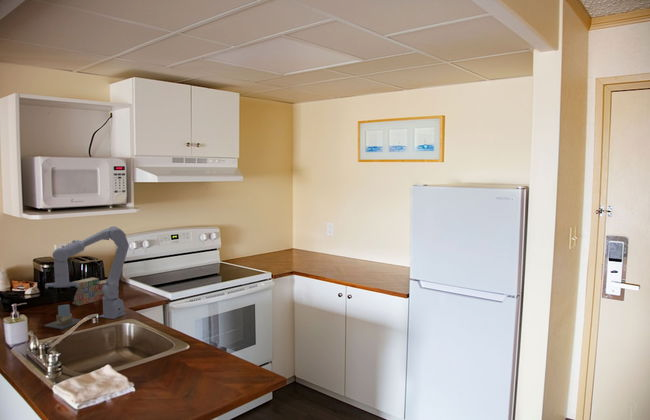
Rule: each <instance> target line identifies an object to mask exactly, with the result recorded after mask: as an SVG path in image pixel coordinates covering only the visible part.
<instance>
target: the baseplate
mask: <svg viewBox="0 0 650 420" xmlns="http://www.w3.org/2000/svg"><path fill="white" fill-rule="evenodd" d="M80 320H82V319H79V318H74V317H72V322H70V323H67V324H65V325H62V324H57V320H55V321H51V322H50V323H47V324H44V326H43V327H45V328H51V329H55V330H56V329H57V330H66V329H69V328H71V327H74V326H76V325H75V324H77V322H79V321H80ZM77 325H78V324H77Z"/></svg>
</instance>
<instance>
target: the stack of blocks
mask: <svg viewBox="0 0 650 420" xmlns="http://www.w3.org/2000/svg"><path fill="white" fill-rule="evenodd" d="M106 280H107V279H104V280H100V279H99V278H96V277H94V276H93V277H89V278H83V279H80V280H74V281H73V282H79V287H78V289H77V291H76V294H75V297H74V302H72V303H71V304H72V305H75V306H82V305H86V304H90V303H94V302H98V301H103V299H102V298H103V296H104V294H103V293H102V287H103V286H104V284H105V283H106Z"/></svg>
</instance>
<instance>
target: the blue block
mask: <svg viewBox="0 0 650 420" xmlns="http://www.w3.org/2000/svg"><path fill="white" fill-rule="evenodd" d="M57 312H58V313H57V315H59V317H60V316H66V315H70V313H71V307H70V304H61V305H57Z"/></svg>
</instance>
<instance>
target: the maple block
mask: <svg viewBox="0 0 650 420" xmlns="http://www.w3.org/2000/svg"><path fill="white" fill-rule="evenodd" d="M72 318H73V313H71V312H70V315H66V316H60V317H59V314H56V321H57V324H62V325H65V324H67V323H70V322H72Z"/></svg>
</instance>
